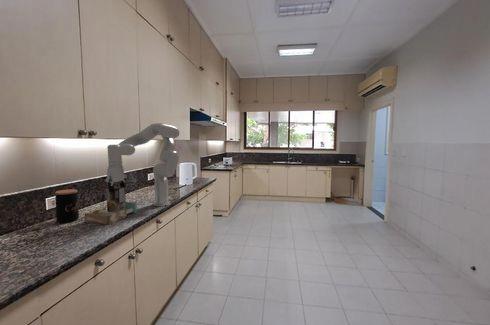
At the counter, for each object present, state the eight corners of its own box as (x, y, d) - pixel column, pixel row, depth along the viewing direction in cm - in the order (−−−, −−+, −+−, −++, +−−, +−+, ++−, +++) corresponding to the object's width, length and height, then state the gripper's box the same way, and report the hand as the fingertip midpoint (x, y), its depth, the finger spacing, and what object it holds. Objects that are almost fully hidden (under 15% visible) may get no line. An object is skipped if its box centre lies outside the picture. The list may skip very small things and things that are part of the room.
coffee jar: (66, 224, 132) (65, 193, 131) (51, 222, 134) (50, 192, 133) (83, 218, 143) (82, 189, 141) (69, 216, 145) (67, 188, 143)
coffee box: (126, 211, 152) (125, 187, 151) (120, 214, 146) (119, 189, 144) (113, 210, 153) (112, 186, 152) (106, 213, 147) (105, 188, 145)
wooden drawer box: (104, 214, 151) (104, 207, 150) (126, 217, 147) (126, 209, 146) (85, 221, 137) (84, 213, 136) (109, 224, 133) (109, 216, 133)
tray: (115, 210, 160) (115, 200, 159) (136, 212, 156) (136, 202, 155) (98, 216, 146) (98, 205, 145) (121, 218, 142) (121, 208, 142)
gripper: (120, 162, 156) (122, 187, 158) (99, 165, 139) (101, 193, 141) (130, 162, 154) (131, 187, 156) (109, 166, 137) (111, 193, 140)
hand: (117, 190), depth 149 cm, fingers open, 9 cm apart
